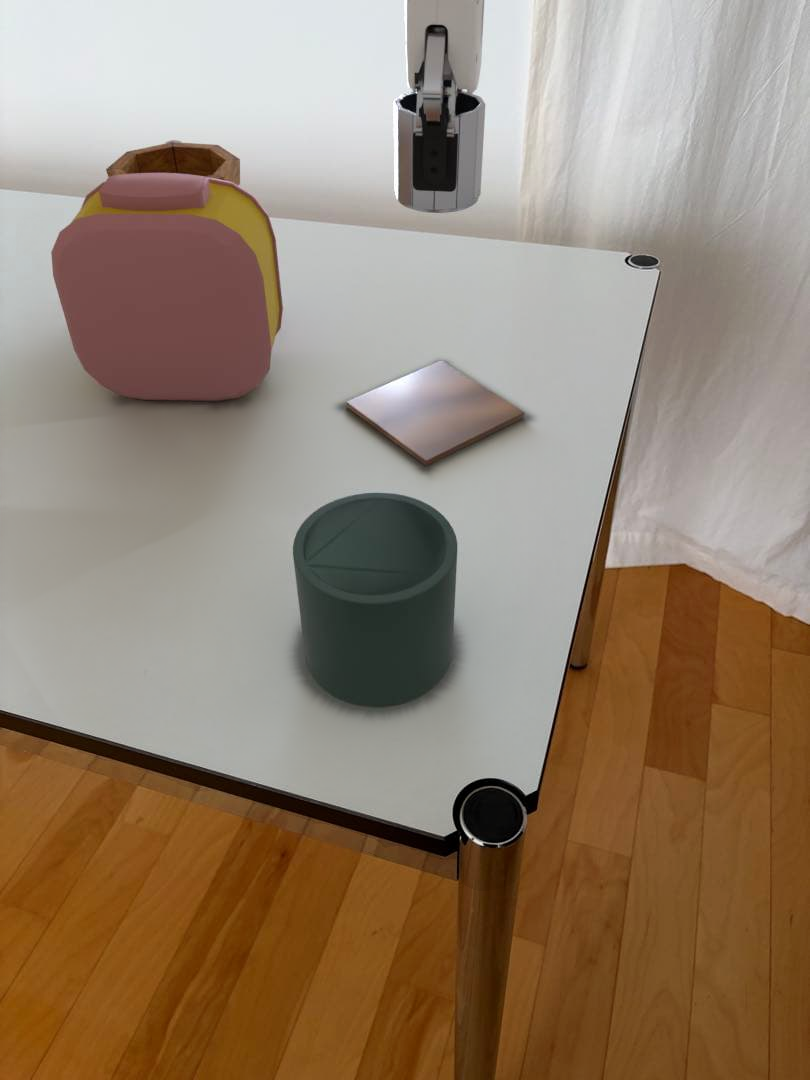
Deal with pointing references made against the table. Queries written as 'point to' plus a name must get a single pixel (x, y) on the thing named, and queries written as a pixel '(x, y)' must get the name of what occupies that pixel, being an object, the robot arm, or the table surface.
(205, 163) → the mug
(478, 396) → the coaster mat
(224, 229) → the alarm clock
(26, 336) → the table surface
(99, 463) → the table surface
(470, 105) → the cup
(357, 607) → the dark green cylinder
